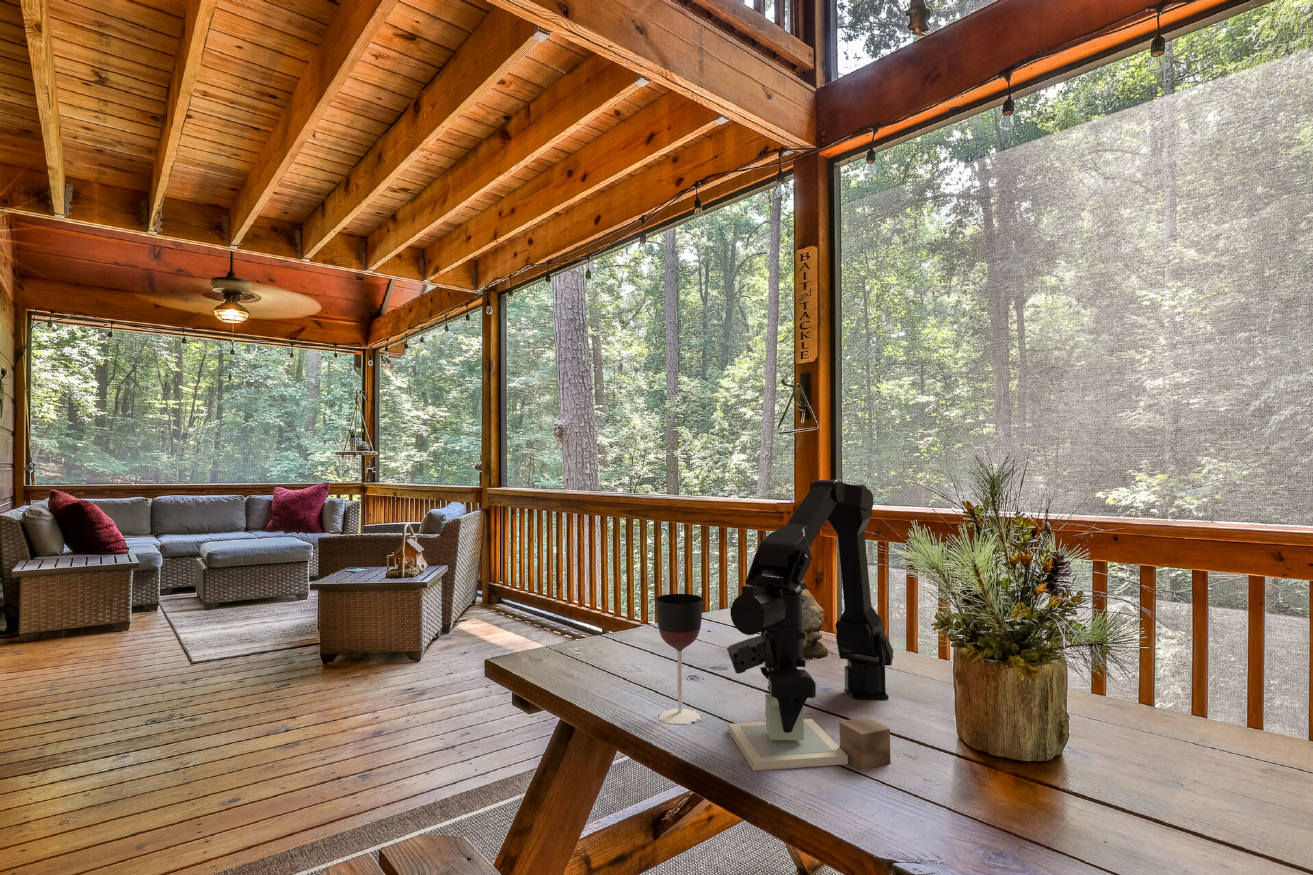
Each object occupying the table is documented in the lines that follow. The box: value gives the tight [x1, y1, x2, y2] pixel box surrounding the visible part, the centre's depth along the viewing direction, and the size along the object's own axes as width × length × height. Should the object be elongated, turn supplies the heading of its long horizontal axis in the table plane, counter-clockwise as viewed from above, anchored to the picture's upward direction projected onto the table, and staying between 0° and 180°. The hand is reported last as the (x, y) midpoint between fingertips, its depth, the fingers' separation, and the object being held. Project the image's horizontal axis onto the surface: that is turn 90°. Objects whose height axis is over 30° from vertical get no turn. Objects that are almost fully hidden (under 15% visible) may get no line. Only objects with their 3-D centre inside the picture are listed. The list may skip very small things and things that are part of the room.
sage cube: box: [764, 693, 805, 740], centre depth 101 cm, size 5×5×5 cm
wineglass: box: [655, 593, 703, 724], centre depth 114 cm, size 8×9×20 cm
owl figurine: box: [802, 588, 829, 659], centre depth 155 cm, size 18×12×17 cm, turn 45°
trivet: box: [728, 718, 849, 772], centre depth 101 cm, size 14×14×1 cm
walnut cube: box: [838, 716, 892, 771], centre depth 97 cm, size 5×5×5 cm
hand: (784, 725), depth 101 cm, fingers closed on sage cube, 5 cm apart
